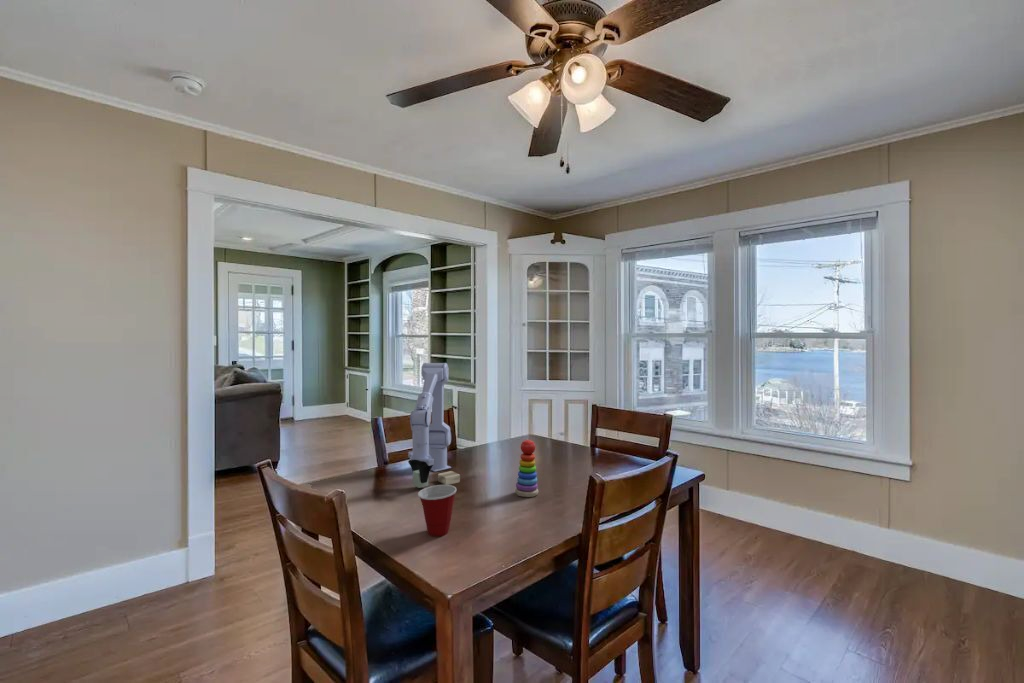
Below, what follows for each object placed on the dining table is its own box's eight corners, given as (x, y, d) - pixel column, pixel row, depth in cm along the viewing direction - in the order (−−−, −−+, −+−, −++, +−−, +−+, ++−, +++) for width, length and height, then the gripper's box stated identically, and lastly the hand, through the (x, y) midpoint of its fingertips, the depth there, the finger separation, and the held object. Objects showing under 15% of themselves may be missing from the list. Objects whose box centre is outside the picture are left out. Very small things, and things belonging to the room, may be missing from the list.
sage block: (412, 485, 166) (412, 471, 166) (422, 482, 169) (422, 468, 169) (418, 487, 163) (418, 473, 163) (428, 485, 166) (428, 471, 166)
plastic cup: (420, 524, 135) (420, 483, 135) (457, 523, 135) (457, 483, 135) (414, 541, 124) (414, 497, 124) (455, 540, 125) (455, 496, 124)
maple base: (437, 481, 174) (437, 473, 174) (451, 478, 178) (451, 470, 178) (445, 485, 170) (446, 477, 170) (459, 482, 173) (459, 474, 173)
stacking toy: (536, 498, 156) (536, 443, 156) (513, 497, 158) (513, 442, 157) (540, 491, 164) (540, 438, 163) (517, 489, 165) (518, 437, 165)
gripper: (400, 441, 168) (400, 478, 169) (421, 449, 158) (421, 488, 158) (417, 438, 173) (418, 474, 173) (438, 445, 162) (438, 484, 163)
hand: (420, 480), depth 166 cm, fingers closed on sage block, 4 cm apart
